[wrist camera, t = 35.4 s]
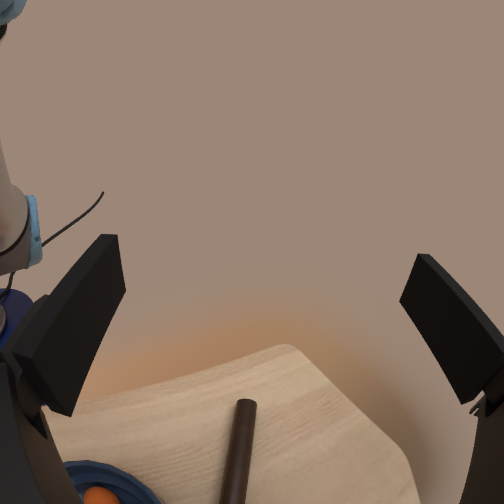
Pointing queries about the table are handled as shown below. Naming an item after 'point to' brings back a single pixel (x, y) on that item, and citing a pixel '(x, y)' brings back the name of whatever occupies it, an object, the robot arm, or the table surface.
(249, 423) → the stick
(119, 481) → the bowl
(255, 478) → the table surface
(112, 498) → the ball
